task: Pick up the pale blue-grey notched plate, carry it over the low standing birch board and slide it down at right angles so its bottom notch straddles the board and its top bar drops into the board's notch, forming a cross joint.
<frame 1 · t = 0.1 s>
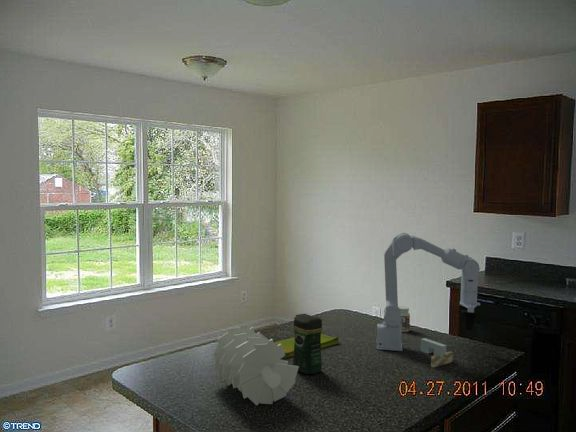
hand: (467, 326, 178), 10 cm above the counter, fingers open, 7 cm apart
coffee jar: (307, 370, 161), on the counter
notched plate: (433, 354, 178), on the counter
dish towel: (292, 349, 183), on the counter
pill bottle: (402, 330, 207), on the counter
birch board: (441, 364, 168), on the counter
spiral staircase: (252, 393, 143), on the counter
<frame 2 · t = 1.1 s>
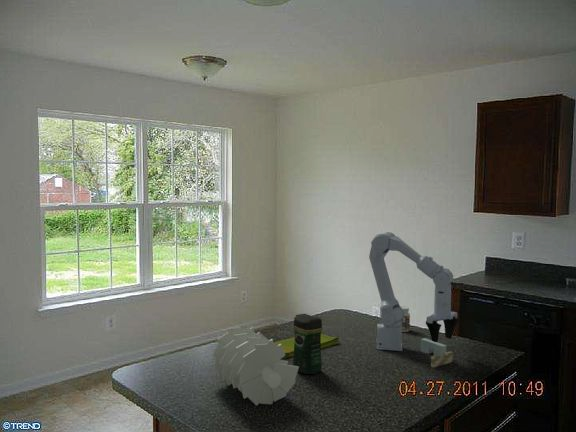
hand: (441, 339, 174), 6 cm above the counter, fingers open, 7 cm apart
nothing on the counter moved.
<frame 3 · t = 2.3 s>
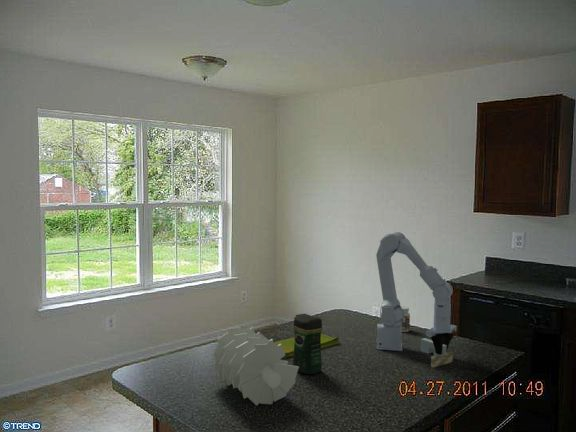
hand: (440, 353, 175), 1 cm above the counter, fingers closed on notched plate, 2 cm apart
notched plate: (433, 354, 178), on the counter, touching gripper
everything else where it was.
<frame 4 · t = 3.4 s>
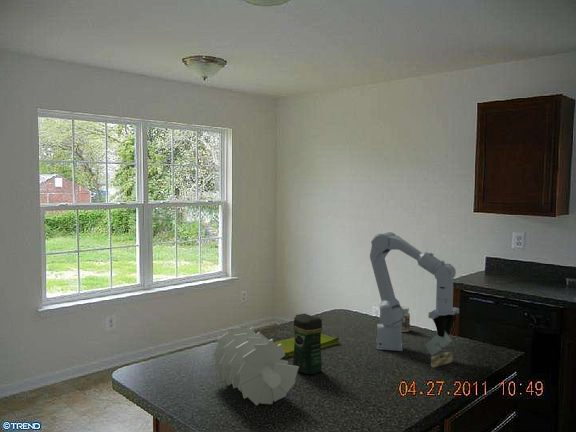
hand: (443, 335, 173), 8 cm above the counter, fingers closed on notched plate, 2 cm apart
notched plate: (441, 348, 173), point 4 cm above the counter, tilted 45°, touching gripper
everything else where it was.
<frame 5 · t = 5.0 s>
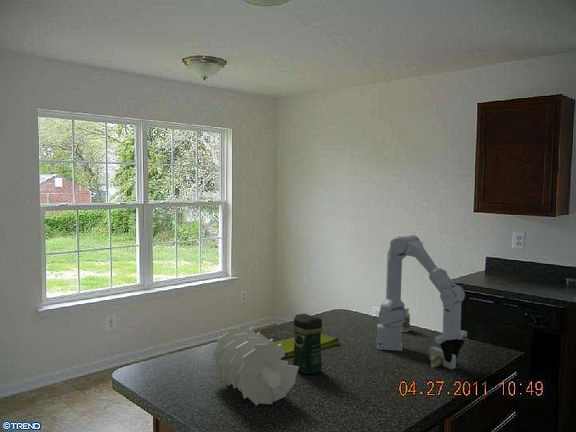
hand: (450, 360, 165), 2 cm above the counter, fingers closed on notched plate, 2 cm apart
notched plate: (442, 363, 168), on the counter, touching gripper
everything else where it was.
when the fingers open (2 cm above the counter, at t = 5.3 s): notched plate stays where it is, on the counter.
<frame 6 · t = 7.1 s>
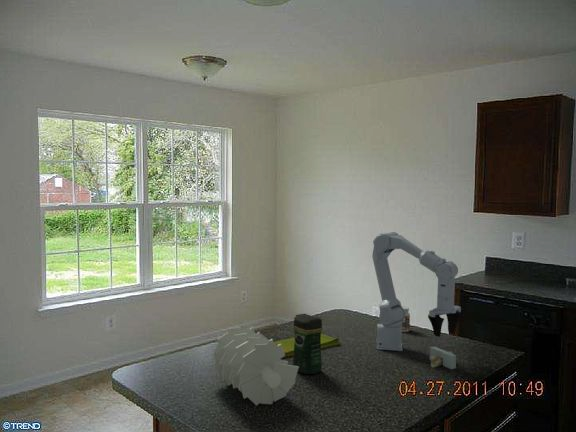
hand: (444, 334, 170), 10 cm above the counter, fingers open, 7 cm apart
notched plate: (442, 363, 168), on the counter
everything else where it was.
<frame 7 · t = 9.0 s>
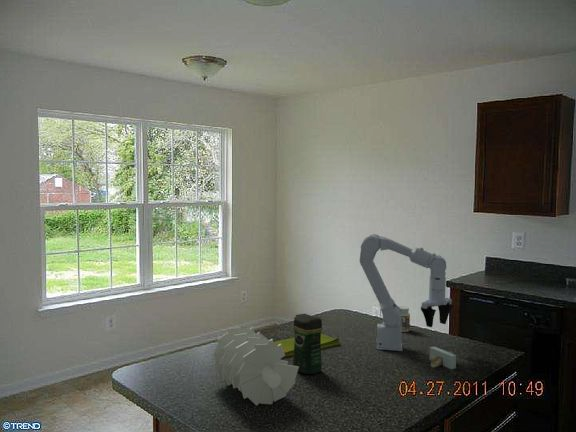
hand: (436, 325, 179), 10 cm above the counter, fingers open, 7 cm apart
nothing on the counter moved.
at the end: notched plate 0.4 cm off-centre on the birch board, point 0.0 cm above the birch board's base; notched plate tilted 0°; the gripper is holding nothing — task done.
